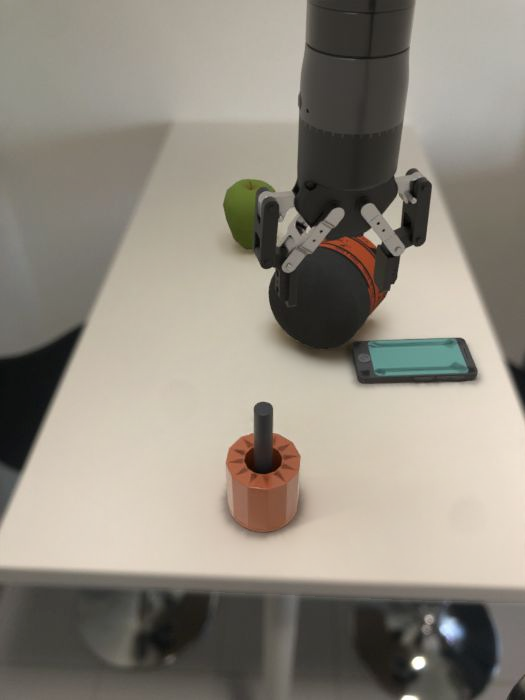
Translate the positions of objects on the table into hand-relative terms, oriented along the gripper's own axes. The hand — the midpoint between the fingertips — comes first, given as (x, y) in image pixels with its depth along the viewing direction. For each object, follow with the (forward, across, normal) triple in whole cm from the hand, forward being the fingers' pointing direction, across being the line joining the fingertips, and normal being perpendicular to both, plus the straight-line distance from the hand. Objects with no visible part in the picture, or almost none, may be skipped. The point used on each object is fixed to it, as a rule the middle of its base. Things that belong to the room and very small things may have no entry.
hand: (335, 294), depth 59 cm
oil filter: (+24, +8, +23) cm, 34 cm away
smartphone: (+24, +17, +14) cm, 32 cm away
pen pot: (+24, -7, -3) cm, 25 cm away
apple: (+24, +4, +46) cm, 52 cm away
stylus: (+23, -7, -3) cm, 24 cm away
